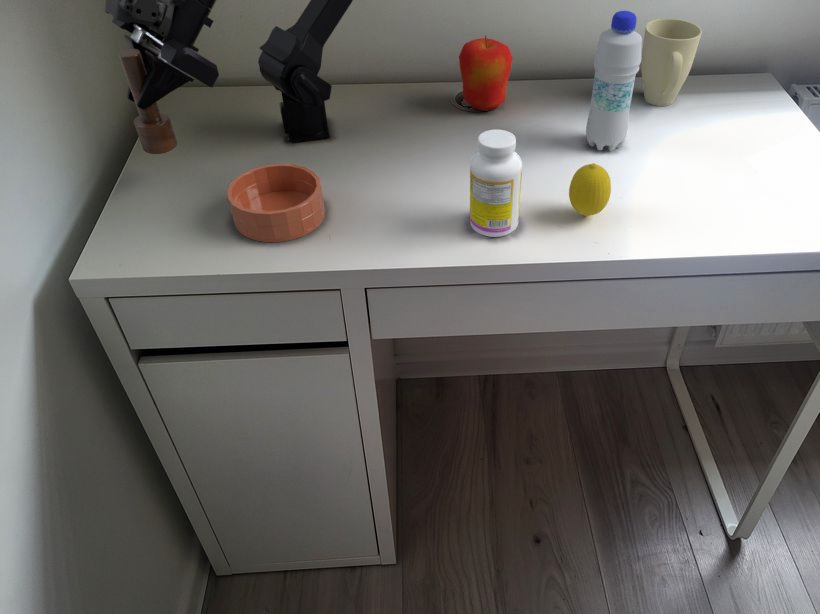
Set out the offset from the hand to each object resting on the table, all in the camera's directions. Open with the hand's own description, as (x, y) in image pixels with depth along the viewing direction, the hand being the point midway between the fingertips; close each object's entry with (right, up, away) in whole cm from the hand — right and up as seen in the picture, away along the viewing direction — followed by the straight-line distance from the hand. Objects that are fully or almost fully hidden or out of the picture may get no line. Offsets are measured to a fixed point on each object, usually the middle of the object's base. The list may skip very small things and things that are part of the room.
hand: (135, 104), depth 94 cm
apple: (+47, +9, +27) cm, 55 cm away
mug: (+77, +10, +29) cm, 83 cm away
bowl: (+18, -14, +4) cm, 23 cm away
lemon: (+60, -14, +4) cm, 62 cm away
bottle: (+66, 0, +18) cm, 68 cm away
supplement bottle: (+48, -16, +3) cm, 50 cm away
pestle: (+1, -4, +5) cm, 7 cm away
